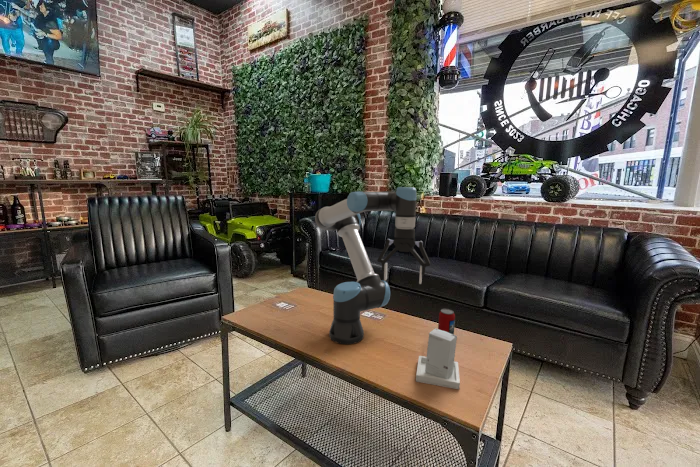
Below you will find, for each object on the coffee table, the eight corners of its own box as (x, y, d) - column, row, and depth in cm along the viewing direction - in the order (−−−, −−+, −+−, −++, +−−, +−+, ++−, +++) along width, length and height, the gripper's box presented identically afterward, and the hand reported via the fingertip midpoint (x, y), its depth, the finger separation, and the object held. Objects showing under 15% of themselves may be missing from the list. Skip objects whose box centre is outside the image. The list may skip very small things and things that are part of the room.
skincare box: (424, 372, 110) (427, 332, 107) (432, 365, 114) (434, 327, 112) (447, 382, 104) (450, 340, 102) (454, 373, 109) (457, 334, 107)
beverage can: (454, 341, 133) (456, 314, 131) (438, 339, 134) (439, 313, 133) (452, 334, 140) (454, 308, 138) (437, 332, 141) (438, 307, 139)
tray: (415, 381, 105) (416, 375, 105) (418, 361, 118) (419, 355, 117) (459, 389, 101) (459, 383, 101) (457, 367, 114) (457, 361, 113)
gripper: (370, 227, 118) (369, 280, 122) (438, 230, 111) (435, 287, 115) (375, 225, 126) (373, 275, 129) (438, 228, 119) (435, 281, 122)
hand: (402, 281), depth 122 cm, fingers open, 13 cm apart
